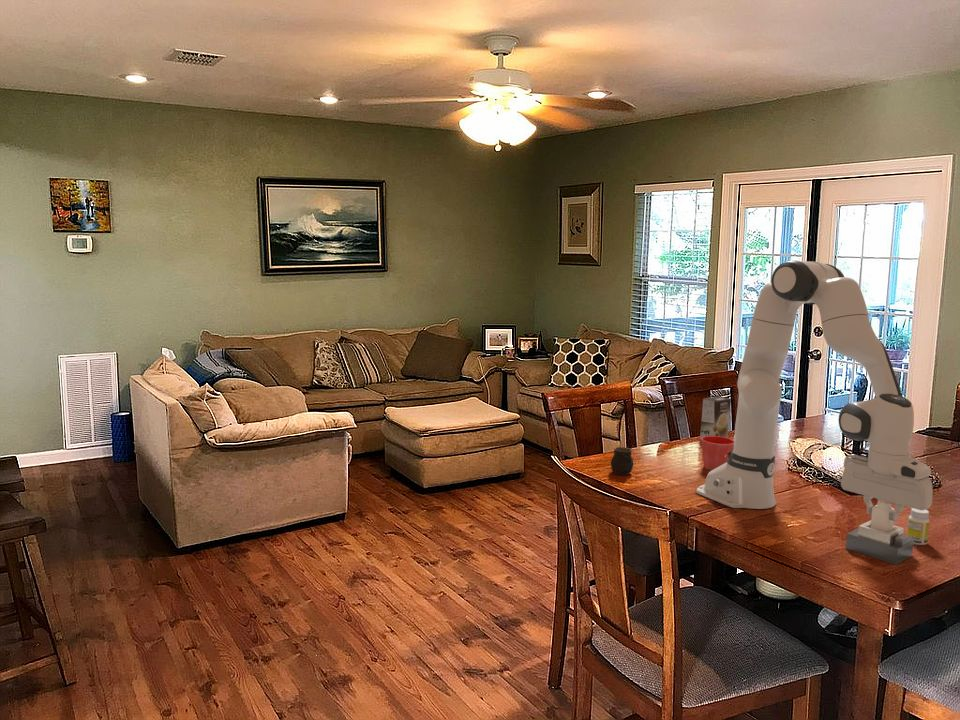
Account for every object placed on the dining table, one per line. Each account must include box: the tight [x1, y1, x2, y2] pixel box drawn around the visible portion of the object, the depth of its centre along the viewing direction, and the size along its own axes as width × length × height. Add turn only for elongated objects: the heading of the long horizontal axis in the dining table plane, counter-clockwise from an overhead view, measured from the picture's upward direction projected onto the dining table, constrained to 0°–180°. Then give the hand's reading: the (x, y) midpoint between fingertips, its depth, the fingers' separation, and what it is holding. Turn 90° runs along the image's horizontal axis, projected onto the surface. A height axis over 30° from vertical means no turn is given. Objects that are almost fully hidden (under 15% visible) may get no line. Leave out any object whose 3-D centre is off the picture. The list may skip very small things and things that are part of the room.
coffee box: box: [699, 396, 732, 441], centre depth 295 cm, size 9×6×16 cm
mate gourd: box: [610, 445, 635, 476], centre depth 251 cm, size 7×8×10 cm
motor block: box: [845, 519, 914, 566], centre depth 192 cm, size 12×9×6 cm
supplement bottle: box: [906, 508, 931, 546], centre depth 199 cm, size 5×5×8 cm
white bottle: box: [870, 498, 896, 533], centre depth 191 cm, size 4×4×10 cm
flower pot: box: [700, 436, 734, 471], centre depth 259 cm, size 11×11×10 cm
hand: (881, 516), depth 191 cm, fingers closed on white bottle, 4 cm apart
